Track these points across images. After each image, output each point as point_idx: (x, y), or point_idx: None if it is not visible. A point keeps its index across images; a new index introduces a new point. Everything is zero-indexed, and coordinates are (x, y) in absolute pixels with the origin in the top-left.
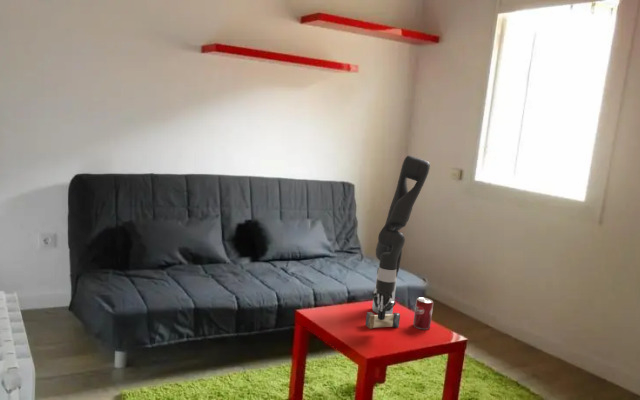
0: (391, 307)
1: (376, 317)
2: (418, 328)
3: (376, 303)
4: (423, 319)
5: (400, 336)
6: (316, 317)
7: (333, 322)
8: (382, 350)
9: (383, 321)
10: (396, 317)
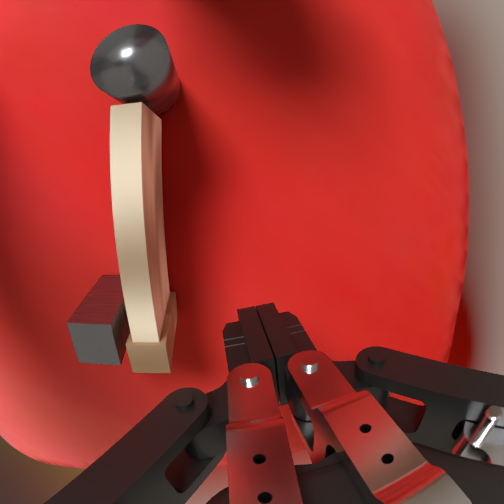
0: (457, 380)
1: (156, 311)
2: None
3: (207, 475)
4: None
5: (336, 159)
6: (56, 447)
7: (94, 429)
8: (426, 347)
9: (155, 217)
10: (163, 80)
